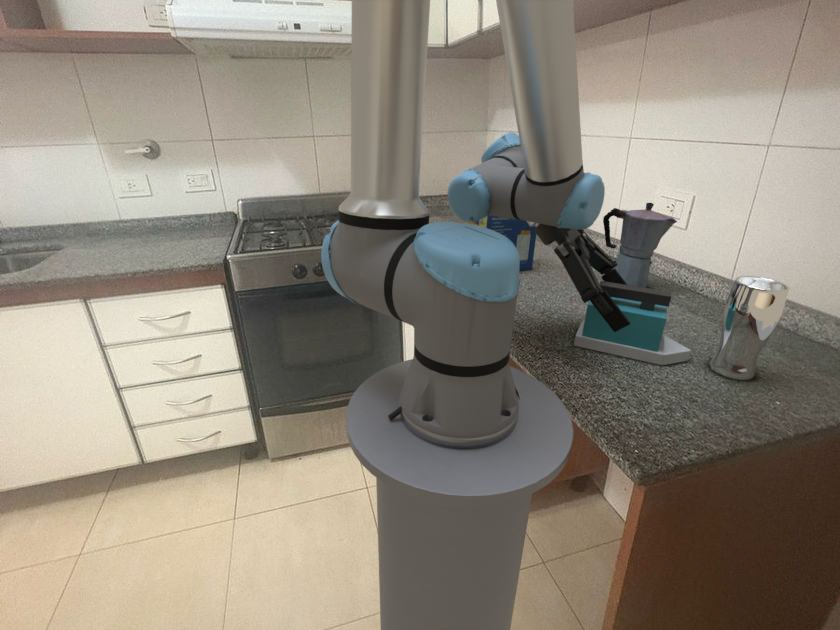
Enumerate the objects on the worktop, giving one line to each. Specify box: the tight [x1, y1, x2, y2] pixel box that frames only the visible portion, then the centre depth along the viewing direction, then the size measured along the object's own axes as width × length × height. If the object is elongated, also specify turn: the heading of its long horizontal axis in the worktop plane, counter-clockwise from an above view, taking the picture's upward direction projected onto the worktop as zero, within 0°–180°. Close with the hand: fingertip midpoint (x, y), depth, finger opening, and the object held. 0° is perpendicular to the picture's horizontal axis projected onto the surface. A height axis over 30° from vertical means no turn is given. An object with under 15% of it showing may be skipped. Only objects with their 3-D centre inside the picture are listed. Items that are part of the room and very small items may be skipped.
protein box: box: [467, 215, 537, 272], centre depth 117 cm, size 10×15×16 cm
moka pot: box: [602, 202, 678, 288], centre depth 104 cm, size 10×15×20 cm, turn 74°
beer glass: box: [709, 275, 790, 381], centre depth 68 cm, size 7×7×15 cm
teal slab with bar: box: [573, 280, 692, 366], centre depth 75 cm, size 18×8×11 cm, turn 62°
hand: (626, 313), depth 75 cm, fingers open, 13 cm apart
